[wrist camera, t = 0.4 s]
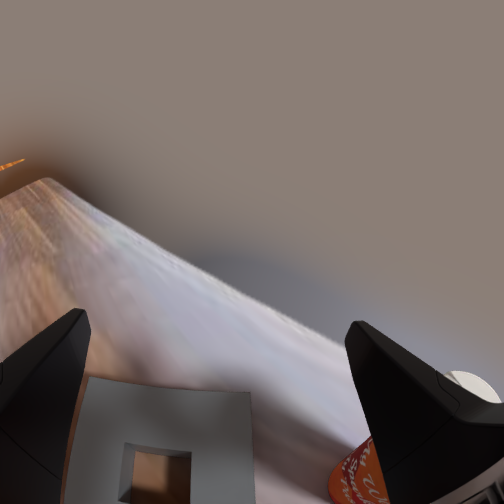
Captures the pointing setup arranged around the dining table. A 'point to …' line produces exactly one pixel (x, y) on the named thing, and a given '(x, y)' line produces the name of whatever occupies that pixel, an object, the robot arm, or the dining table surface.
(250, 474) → the socket plate
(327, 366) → the dining table surface
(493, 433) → the robot arm
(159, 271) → the dining table surface
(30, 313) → the dining table surface
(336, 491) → the paper cup
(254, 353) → the dining table surface
